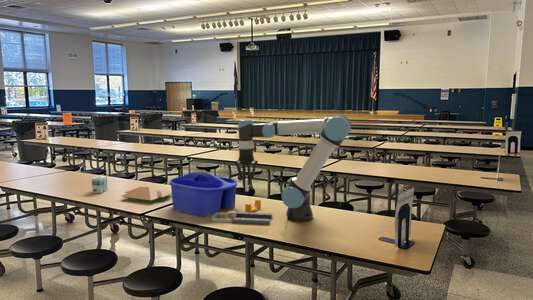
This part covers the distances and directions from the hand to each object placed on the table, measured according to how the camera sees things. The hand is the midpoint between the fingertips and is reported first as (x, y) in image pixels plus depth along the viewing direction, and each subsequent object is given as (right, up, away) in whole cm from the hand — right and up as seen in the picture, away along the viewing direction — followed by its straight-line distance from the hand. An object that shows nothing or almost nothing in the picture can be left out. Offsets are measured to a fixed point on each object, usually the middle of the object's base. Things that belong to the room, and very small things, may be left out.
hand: (247, 190), depth 206 cm
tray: (-13, -17, +2) cm, 21 cm away
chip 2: (-8, -16, 0) cm, 18 cm away
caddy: (-28, -14, +26) cm, 41 cm away
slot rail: (+3, -17, -1) cm, 18 cm away
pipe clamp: (+3, -15, +17) cm, 23 cm away
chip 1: (-12, -16, +1) cm, 21 cm away
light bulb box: (-110, -8, +65) cm, 128 cm away
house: (-71, -11, +49) cm, 86 cm away
